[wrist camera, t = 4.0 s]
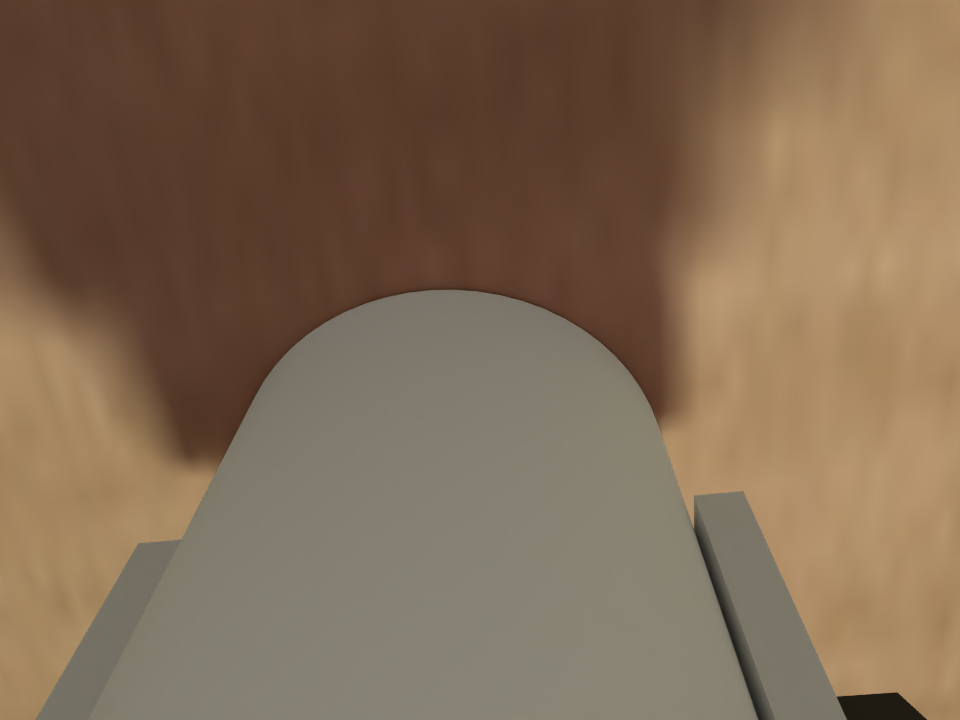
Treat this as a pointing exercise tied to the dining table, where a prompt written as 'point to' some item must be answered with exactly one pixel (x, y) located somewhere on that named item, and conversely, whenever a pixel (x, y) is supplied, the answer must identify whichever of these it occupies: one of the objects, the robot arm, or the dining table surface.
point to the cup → (438, 539)
